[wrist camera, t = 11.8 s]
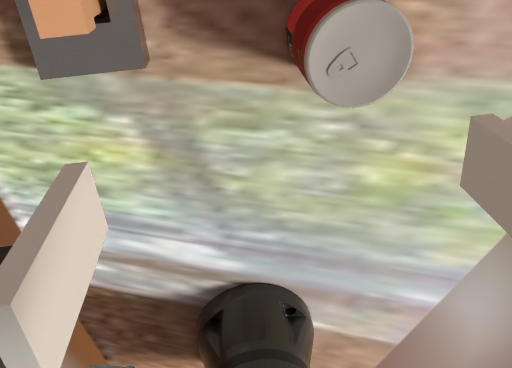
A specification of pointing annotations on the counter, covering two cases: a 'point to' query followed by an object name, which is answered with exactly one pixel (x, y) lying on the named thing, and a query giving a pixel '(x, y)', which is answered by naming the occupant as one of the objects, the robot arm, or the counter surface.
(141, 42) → the grey slotted base
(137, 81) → the counter surface
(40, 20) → the clip
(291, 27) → the canned food
